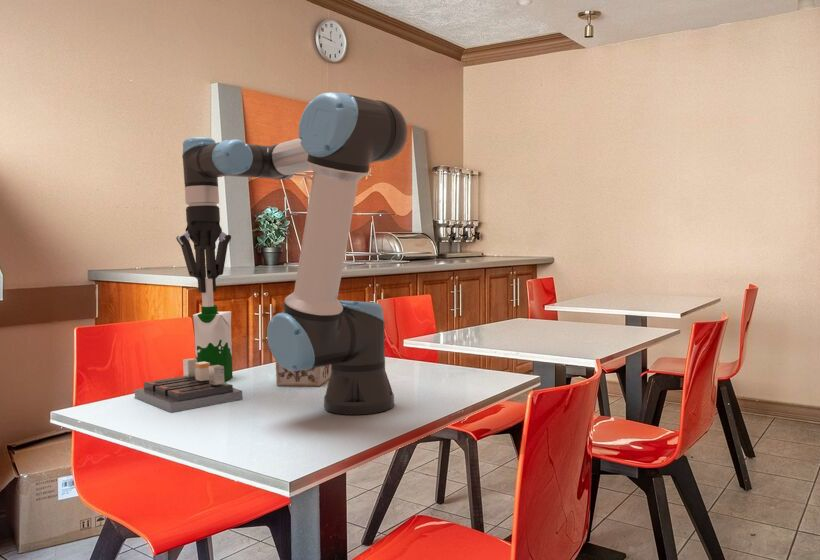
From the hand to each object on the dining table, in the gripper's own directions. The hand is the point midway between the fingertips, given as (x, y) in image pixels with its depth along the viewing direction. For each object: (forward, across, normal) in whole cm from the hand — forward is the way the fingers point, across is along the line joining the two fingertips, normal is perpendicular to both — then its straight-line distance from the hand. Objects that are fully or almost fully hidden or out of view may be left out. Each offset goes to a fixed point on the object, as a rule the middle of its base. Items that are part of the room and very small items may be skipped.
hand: (208, 306), depth 163 cm
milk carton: (+21, -10, -18) cm, 30 cm away
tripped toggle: (+17, +1, -3) cm, 18 cm away
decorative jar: (+22, -25, +2) cm, 33 cm away
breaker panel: (+21, +5, -3) cm, 22 cm away
